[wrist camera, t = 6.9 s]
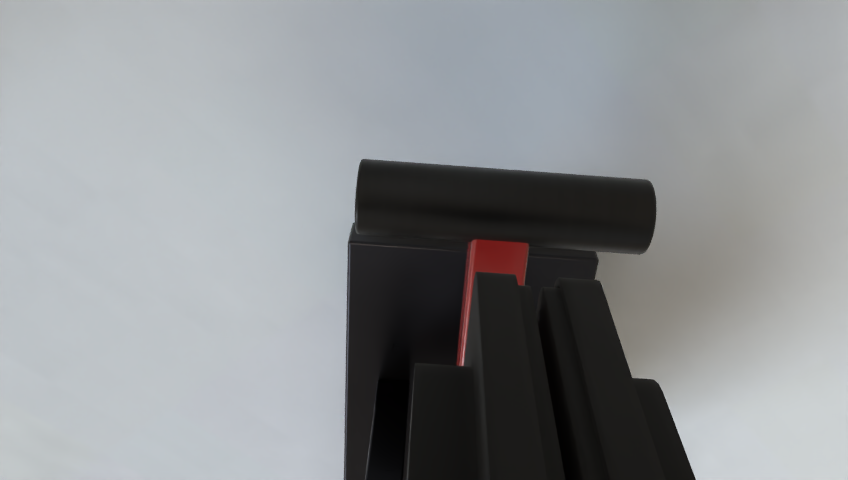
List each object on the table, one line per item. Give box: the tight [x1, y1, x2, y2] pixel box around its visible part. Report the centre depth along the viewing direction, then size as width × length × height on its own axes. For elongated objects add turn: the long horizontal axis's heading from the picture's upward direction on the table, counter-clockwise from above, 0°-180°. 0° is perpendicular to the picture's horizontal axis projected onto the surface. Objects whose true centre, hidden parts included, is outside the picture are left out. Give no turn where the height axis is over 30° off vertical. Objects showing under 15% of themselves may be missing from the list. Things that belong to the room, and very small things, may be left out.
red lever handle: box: [355, 159, 656, 366], centre depth 16 cm, size 13×6×2 cm, turn 176°
